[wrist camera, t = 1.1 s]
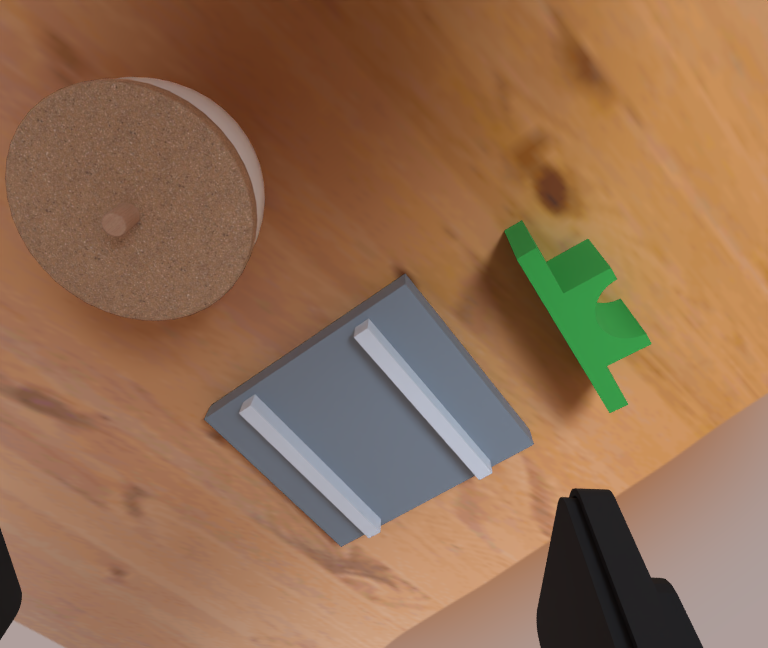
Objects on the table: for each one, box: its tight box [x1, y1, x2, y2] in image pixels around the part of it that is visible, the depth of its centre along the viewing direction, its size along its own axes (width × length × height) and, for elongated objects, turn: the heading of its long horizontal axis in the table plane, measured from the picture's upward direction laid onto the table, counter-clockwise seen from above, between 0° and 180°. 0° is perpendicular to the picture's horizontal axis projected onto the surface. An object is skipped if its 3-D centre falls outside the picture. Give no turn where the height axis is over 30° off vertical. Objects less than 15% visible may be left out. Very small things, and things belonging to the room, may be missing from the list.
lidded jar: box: [5, 77, 265, 321], centre depth 29 cm, size 11×11×9 cm
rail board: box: [204, 274, 534, 547], centre depth 39 cm, size 16×14×3 cm
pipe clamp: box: [505, 221, 651, 413], centre depth 34 cm, size 11×4×5 cm, turn 34°
